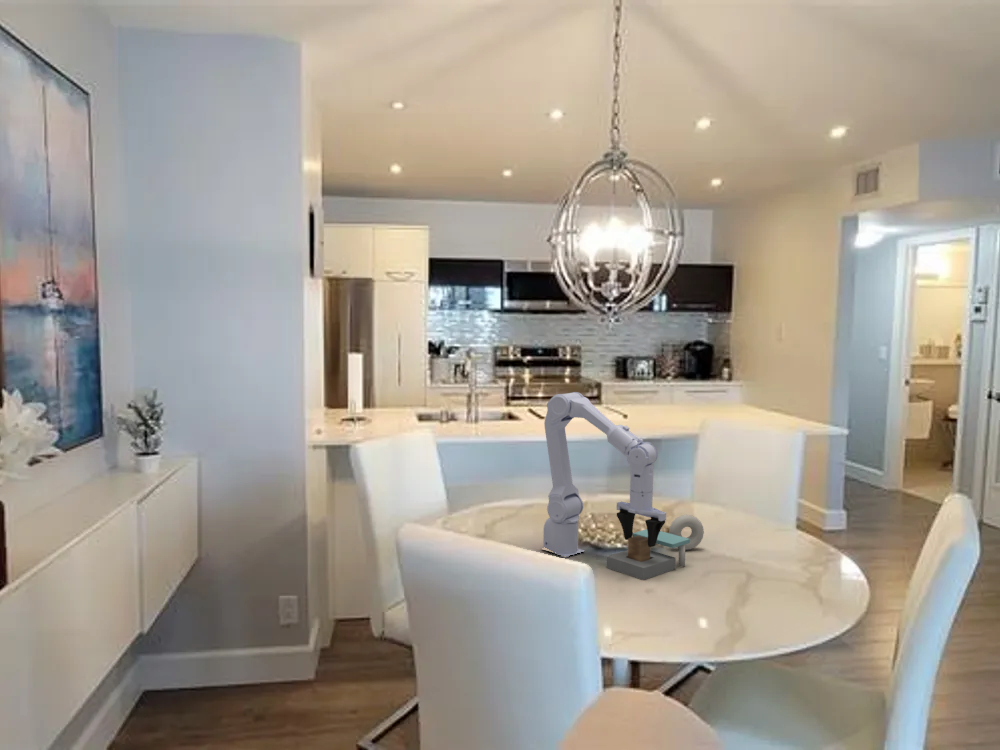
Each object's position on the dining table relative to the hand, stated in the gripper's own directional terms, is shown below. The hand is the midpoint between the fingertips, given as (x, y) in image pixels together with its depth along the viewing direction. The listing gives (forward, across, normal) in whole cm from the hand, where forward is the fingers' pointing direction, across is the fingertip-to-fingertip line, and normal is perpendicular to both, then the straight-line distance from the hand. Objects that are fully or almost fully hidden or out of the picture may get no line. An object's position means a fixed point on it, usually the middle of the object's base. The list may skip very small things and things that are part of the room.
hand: (639, 542), depth 192 cm
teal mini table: (+7, 0, +9) cm, 11 cm away
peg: (+7, 0, 0) cm, 7 cm away
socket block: (+7, 0, 0) cm, 7 cm away
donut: (+7, -2, +23) cm, 24 cm away
